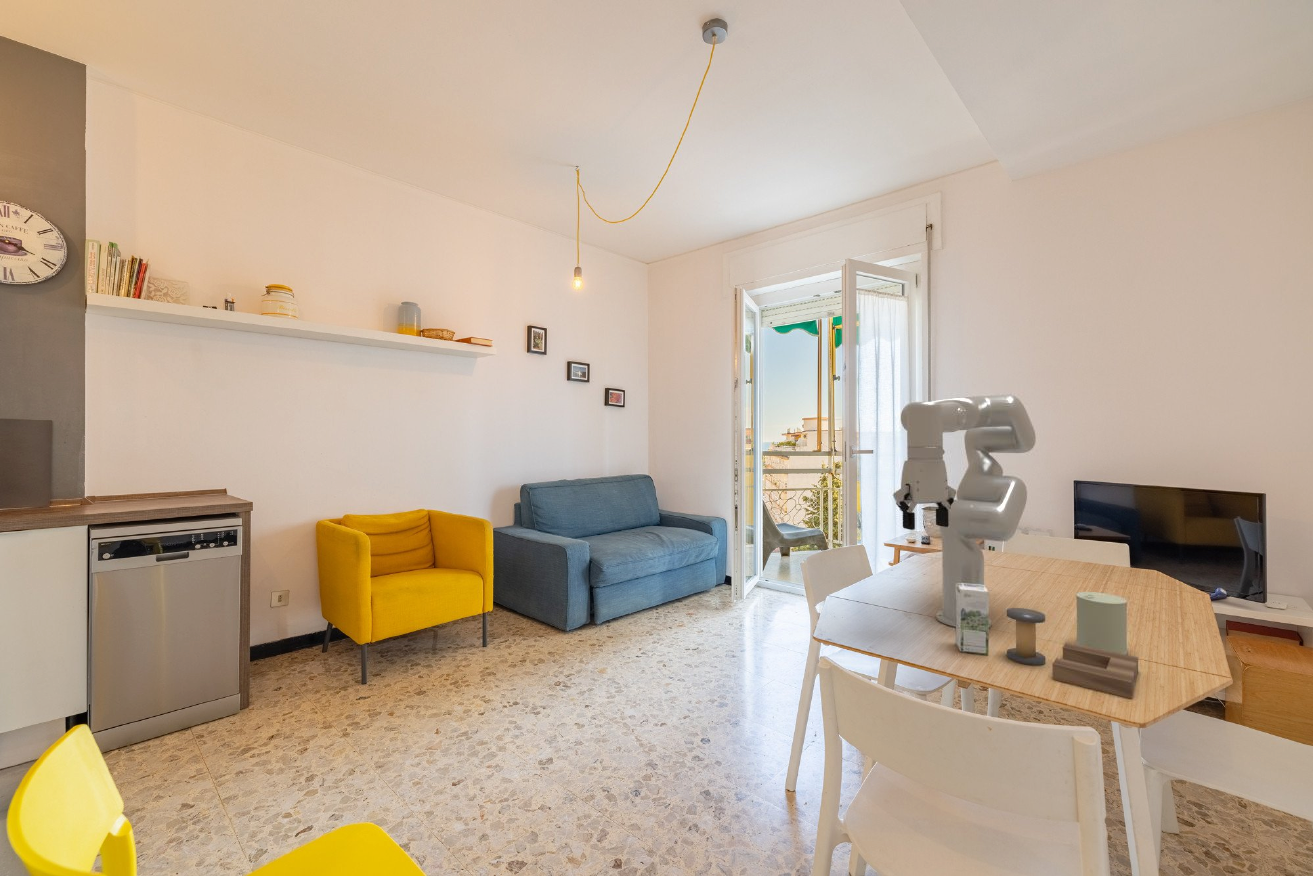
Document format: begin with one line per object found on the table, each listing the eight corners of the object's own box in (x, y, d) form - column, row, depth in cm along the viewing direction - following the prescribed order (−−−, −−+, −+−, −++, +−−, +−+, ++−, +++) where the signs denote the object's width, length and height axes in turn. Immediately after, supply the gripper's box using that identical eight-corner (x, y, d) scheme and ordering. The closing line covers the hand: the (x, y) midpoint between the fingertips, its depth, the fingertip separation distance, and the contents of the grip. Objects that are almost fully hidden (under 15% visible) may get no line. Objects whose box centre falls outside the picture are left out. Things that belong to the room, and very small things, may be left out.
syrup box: (983, 646, 128) (982, 583, 128) (989, 656, 122) (989, 590, 122) (955, 643, 130) (955, 581, 130) (960, 652, 124) (959, 588, 124)
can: (1066, 640, 131) (1066, 589, 131) (1106, 640, 131) (1106, 589, 131) (1095, 655, 122) (1095, 601, 122) (1139, 655, 122) (1138, 601, 122)
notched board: (1066, 655, 122) (1066, 642, 122) (1138, 671, 114) (1138, 657, 114) (1052, 679, 111) (1052, 664, 111) (1131, 698, 102) (1131, 682, 102)
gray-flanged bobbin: (1010, 650, 125) (1010, 605, 125) (1048, 658, 121) (1048, 612, 120) (1003, 659, 120) (1003, 613, 120) (1042, 668, 115) (1041, 620, 115)
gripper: (941, 453, 136) (942, 522, 136) (883, 455, 131) (883, 527, 131) (967, 454, 129) (967, 527, 129) (906, 456, 124) (907, 532, 124)
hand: (925, 527), depth 130 cm, fingers open, 9 cm apart
